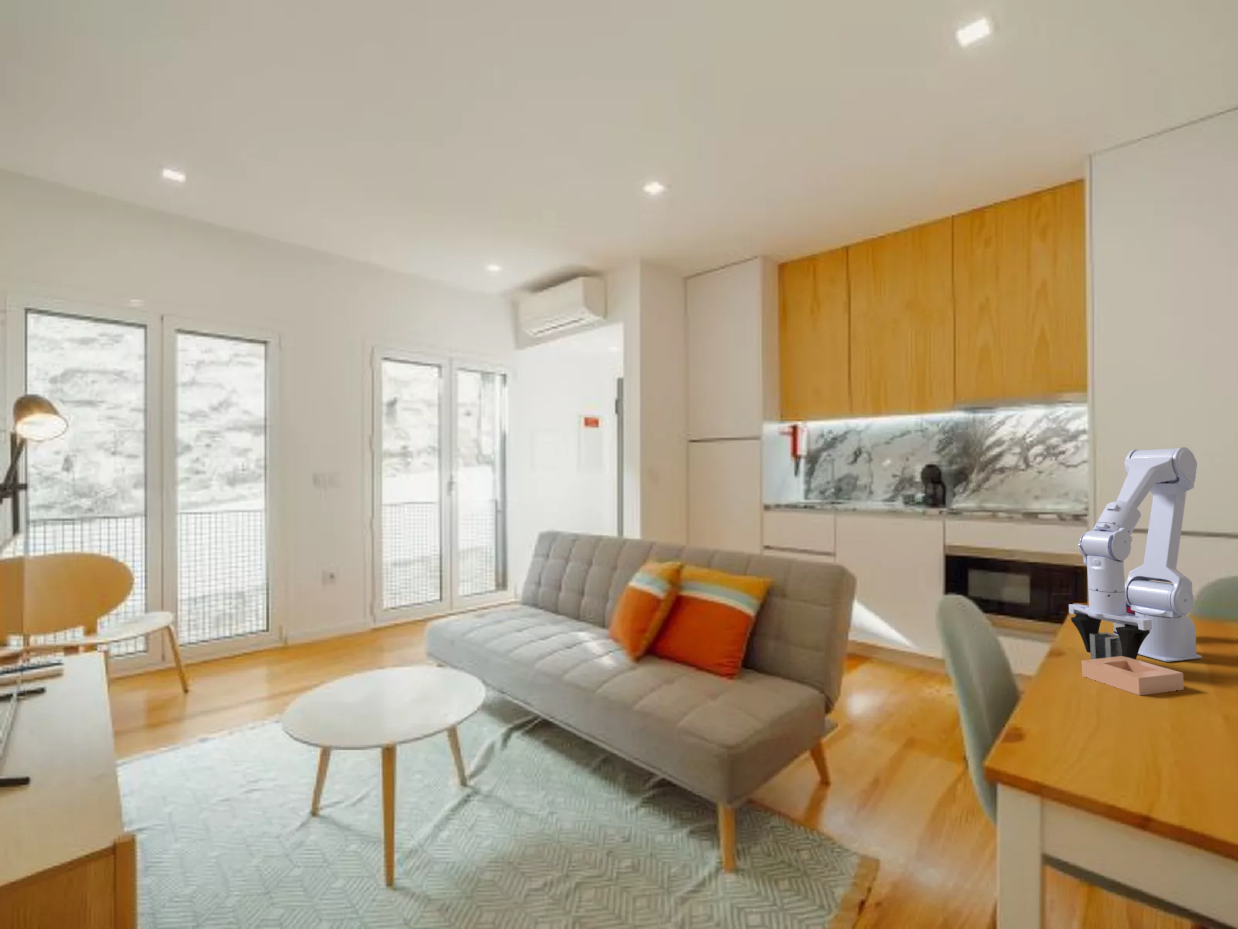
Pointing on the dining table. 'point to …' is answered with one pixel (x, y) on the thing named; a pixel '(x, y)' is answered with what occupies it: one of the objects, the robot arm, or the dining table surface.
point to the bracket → (1105, 645)
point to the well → (1132, 675)
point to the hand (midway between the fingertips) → (1109, 657)
